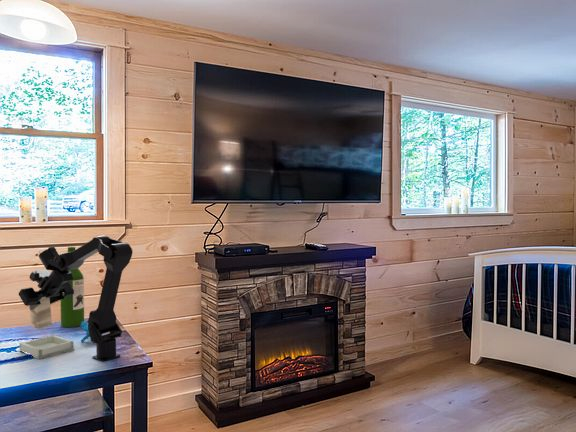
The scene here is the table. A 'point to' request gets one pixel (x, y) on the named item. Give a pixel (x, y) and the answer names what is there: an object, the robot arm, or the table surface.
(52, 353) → the sage tray
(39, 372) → the table surface
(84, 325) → the gear
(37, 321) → the maple block
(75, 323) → the wine bottle
